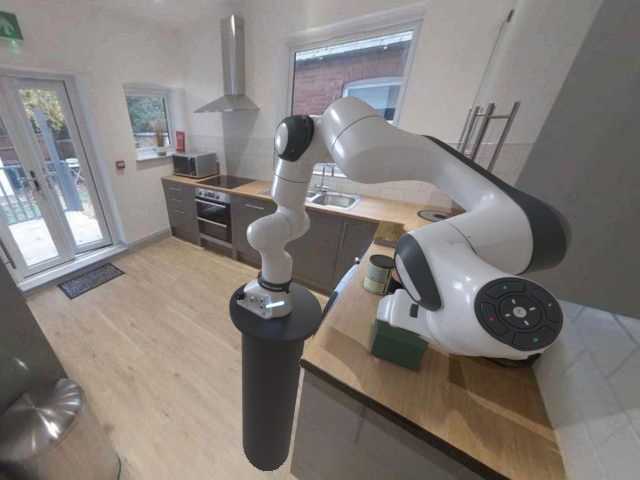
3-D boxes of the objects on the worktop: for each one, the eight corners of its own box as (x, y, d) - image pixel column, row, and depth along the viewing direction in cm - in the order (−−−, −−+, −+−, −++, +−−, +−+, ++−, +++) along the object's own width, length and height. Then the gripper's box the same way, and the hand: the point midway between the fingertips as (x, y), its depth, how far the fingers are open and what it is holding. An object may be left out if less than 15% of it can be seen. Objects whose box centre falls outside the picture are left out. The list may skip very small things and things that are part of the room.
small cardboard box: (379, 224, 178) (381, 216, 175) (403, 228, 171) (406, 220, 168) (371, 243, 152) (373, 233, 149) (399, 249, 145) (402, 239, 142)
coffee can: (363, 278, 119) (369, 252, 113) (387, 283, 115) (396, 256, 109) (362, 291, 111) (369, 263, 104) (389, 297, 107) (398, 268, 101)
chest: (373, 326, 92) (378, 307, 88) (413, 339, 86) (421, 319, 83) (370, 354, 81) (376, 333, 77) (416, 371, 76) (425, 350, 72)
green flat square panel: (388, 291, 72) (388, 293, 72) (442, 305, 67) (443, 307, 66) (376, 332, 78) (376, 333, 77) (425, 348, 72) (426, 350, 71)
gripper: (554, 327, 35) (500, 332, 47) (386, 285, 44) (377, 298, 56) (552, 375, 33) (497, 367, 45) (379, 321, 42) (371, 326, 54)
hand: (429, 329), depth 51 cm, fingers closed
